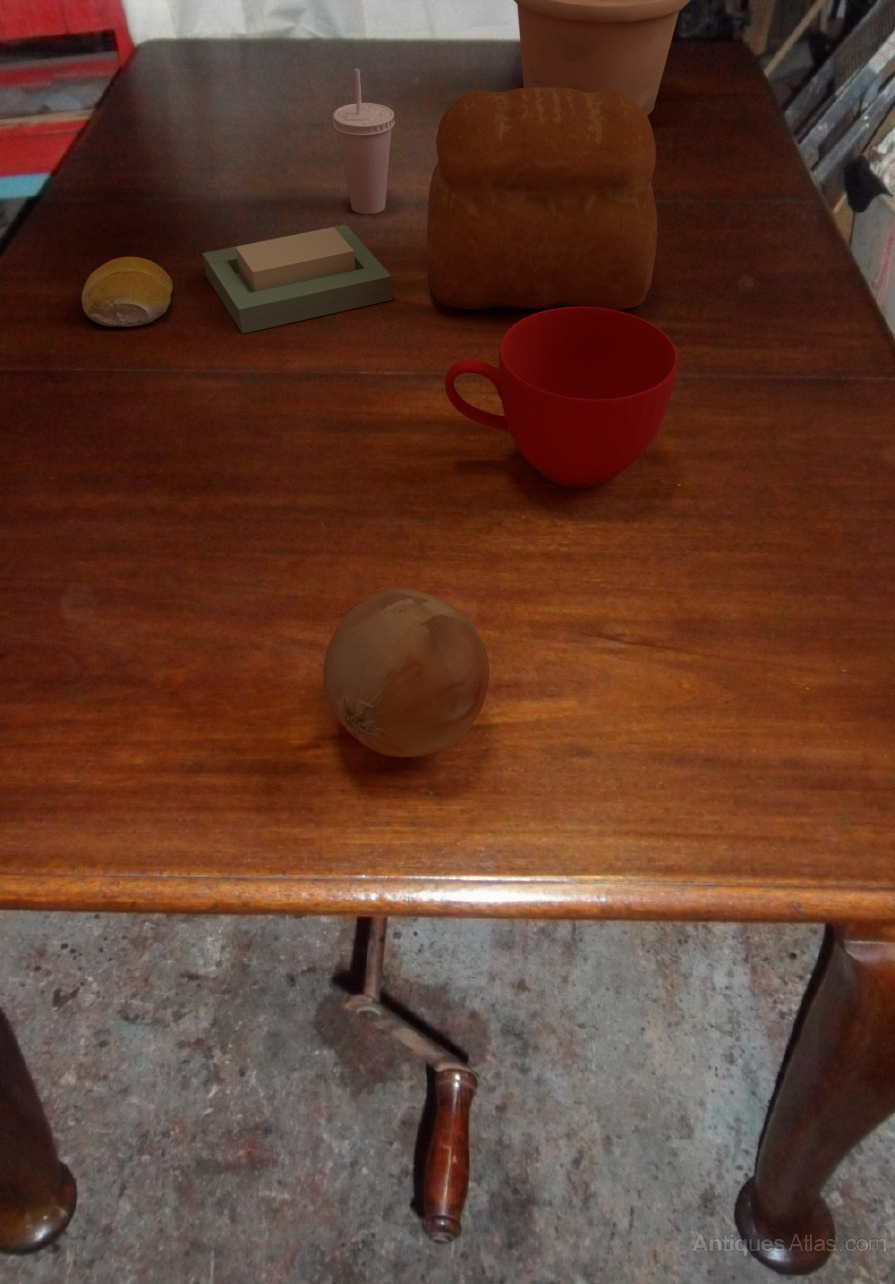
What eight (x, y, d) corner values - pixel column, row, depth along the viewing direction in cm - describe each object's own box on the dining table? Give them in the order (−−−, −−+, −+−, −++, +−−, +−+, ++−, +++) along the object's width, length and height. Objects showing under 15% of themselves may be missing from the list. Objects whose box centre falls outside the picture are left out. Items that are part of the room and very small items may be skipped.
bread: (428, 238, 111) (426, 63, 99) (633, 238, 111) (656, 63, 99) (426, 324, 99) (423, 136, 87) (656, 324, 99) (685, 137, 87)
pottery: (560, 63, 147) (568, -57, 137) (704, 97, 139) (724, -29, 128) (470, 111, 135) (472, -17, 125) (622, 152, 126) (637, 17, 116)
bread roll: (176, 280, 105) (168, 241, 102) (170, 327, 99) (162, 287, 96) (90, 285, 104) (80, 246, 101) (79, 332, 98) (68, 292, 95)
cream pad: (257, 302, 100) (252, 272, 98) (239, 276, 103) (235, 246, 101) (356, 280, 103) (354, 250, 101) (336, 256, 106) (333, 226, 104)
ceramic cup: (447, 413, 89) (447, 303, 82) (650, 417, 89) (668, 307, 81) (442, 512, 80) (441, 398, 73) (667, 516, 80) (689, 402, 72)
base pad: (242, 334, 98) (238, 309, 96) (206, 276, 105) (202, 252, 103) (392, 300, 102) (391, 276, 100) (347, 247, 110) (346, 223, 108)
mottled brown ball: (301, 764, 64) (283, 649, 56) (368, 651, 70) (360, 535, 63) (453, 812, 61) (453, 698, 54) (508, 690, 68) (515, 575, 60)
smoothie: (326, 207, 116) (315, 68, 106) (369, 189, 119) (361, 52, 109) (367, 225, 113) (360, 84, 103) (409, 206, 116) (406, 67, 106)
